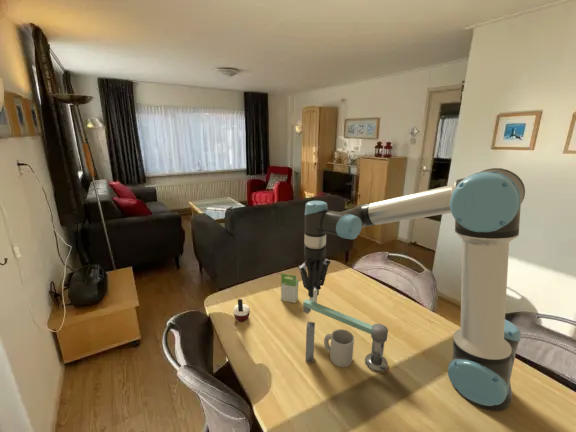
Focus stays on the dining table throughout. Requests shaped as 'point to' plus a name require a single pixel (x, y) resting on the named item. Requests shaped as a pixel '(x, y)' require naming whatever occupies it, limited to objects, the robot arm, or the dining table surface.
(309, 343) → the post
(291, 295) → the ink box
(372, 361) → the grey flanged post
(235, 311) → the cocoa
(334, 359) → the cup
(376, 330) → the bar
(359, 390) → the dining table surface
